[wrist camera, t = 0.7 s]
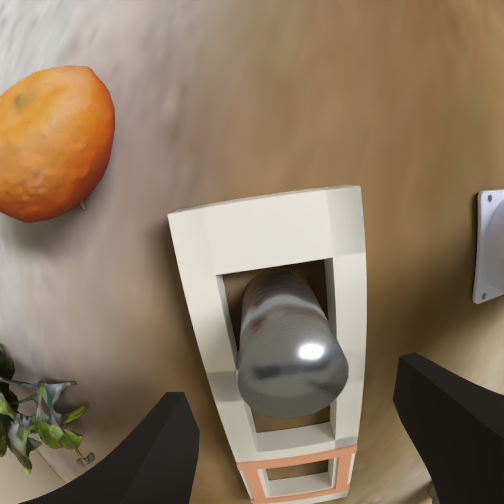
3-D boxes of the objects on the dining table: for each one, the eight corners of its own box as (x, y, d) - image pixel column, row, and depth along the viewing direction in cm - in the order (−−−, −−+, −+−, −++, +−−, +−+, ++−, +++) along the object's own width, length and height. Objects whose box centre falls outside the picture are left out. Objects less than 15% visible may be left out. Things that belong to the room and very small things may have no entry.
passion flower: (42, 337, 23) (-54, 313, 12) (118, 349, 21) (-9, 327, 10) (46, 438, 20) (-47, 443, 9) (123, 473, 17) (13, 509, 6)
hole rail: (346, 184, 15) (361, 186, 13) (343, 481, 22) (347, 497, 20) (177, 209, 15) (166, 214, 13) (255, 495, 22) (255, 511, 20)
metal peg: (309, 263, 16) (349, 324, 9) (315, 327, 17) (346, 408, 10) (236, 274, 16) (227, 343, 9) (248, 337, 17) (247, 424, 10)
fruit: (3, 221, 14) (-69, 163, 6) (61, 123, 16) (25, 41, 8) (96, 268, 14) (23, 213, 7) (154, 150, 17) (142, 48, 9)
